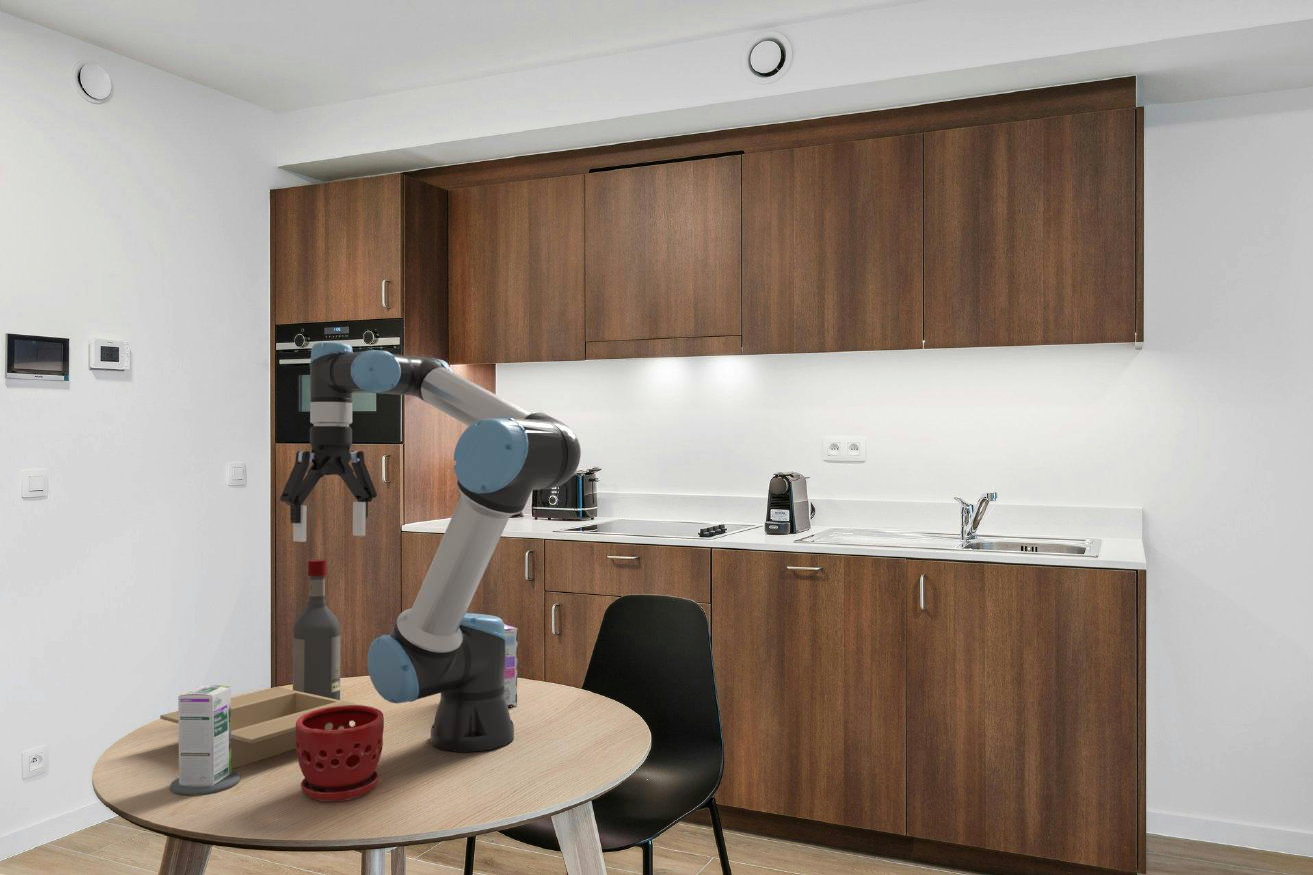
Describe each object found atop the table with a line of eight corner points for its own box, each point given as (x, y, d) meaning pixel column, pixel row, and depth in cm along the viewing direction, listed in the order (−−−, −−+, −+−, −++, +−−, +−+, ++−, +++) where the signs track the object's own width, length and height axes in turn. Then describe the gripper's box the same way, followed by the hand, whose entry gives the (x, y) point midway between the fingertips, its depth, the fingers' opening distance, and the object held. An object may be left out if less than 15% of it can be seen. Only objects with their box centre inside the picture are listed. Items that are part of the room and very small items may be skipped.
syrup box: (213, 787, 148) (213, 694, 148) (176, 786, 148) (177, 693, 149) (232, 774, 154) (232, 685, 154) (197, 773, 154) (197, 684, 154)
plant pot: (283, 789, 149) (284, 713, 149) (365, 772, 157) (366, 700, 157) (310, 815, 139) (311, 733, 139) (396, 795, 147) (397, 717, 147)
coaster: (253, 780, 153) (253, 776, 153) (194, 800, 144) (194, 796, 144) (215, 769, 158) (215, 765, 158) (157, 787, 150) (157, 783, 150)
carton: (366, 738, 175) (366, 706, 175) (250, 776, 155) (251, 739, 155) (276, 717, 189) (277, 686, 189) (159, 749, 168) (160, 715, 169)
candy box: (518, 706, 197) (518, 627, 197) (492, 711, 194) (492, 630, 194) (490, 692, 209) (491, 617, 209) (465, 696, 205) (466, 620, 205)
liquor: (293, 711, 193) (295, 563, 194) (292, 700, 202) (293, 559, 202) (340, 706, 197) (341, 562, 197) (337, 695, 205) (338, 557, 206)
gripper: (369, 427, 191) (368, 532, 191) (260, 424, 170) (259, 542, 169) (395, 426, 187) (394, 534, 187) (287, 423, 166) (286, 545, 165)
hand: (330, 538), depth 178 cm, fingers open, 13 cm apart
